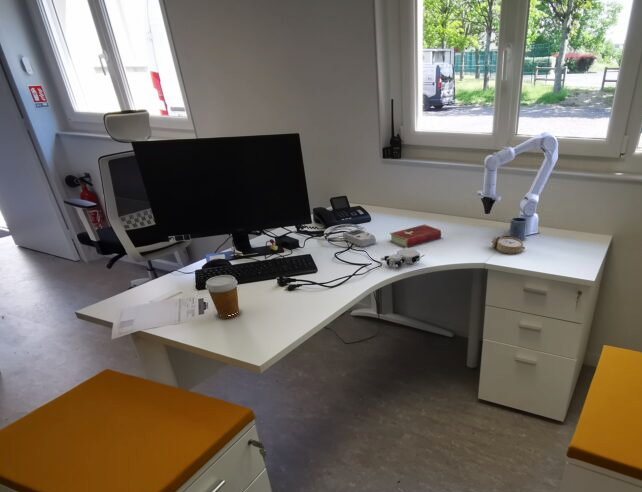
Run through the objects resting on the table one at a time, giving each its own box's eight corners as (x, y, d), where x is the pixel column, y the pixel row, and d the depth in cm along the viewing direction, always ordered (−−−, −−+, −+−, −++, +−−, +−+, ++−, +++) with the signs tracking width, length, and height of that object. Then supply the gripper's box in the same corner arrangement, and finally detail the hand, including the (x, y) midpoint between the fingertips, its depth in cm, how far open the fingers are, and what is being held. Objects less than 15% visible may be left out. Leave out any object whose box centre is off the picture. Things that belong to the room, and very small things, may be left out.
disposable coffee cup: (218, 308, 152) (209, 275, 146) (247, 307, 153) (239, 274, 147) (209, 321, 144) (200, 287, 138) (240, 320, 145) (232, 286, 139)
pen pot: (516, 235, 217) (519, 216, 212) (527, 239, 212) (530, 220, 207) (505, 238, 214) (507, 218, 209) (516, 242, 208) (518, 222, 204)
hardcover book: (441, 238, 213) (441, 229, 211) (406, 248, 202) (406, 239, 200) (424, 232, 221) (424, 223, 219) (390, 241, 210) (390, 232, 207)
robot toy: (396, 274, 179) (426, 263, 186) (395, 263, 176) (425, 252, 183) (379, 265, 187) (408, 254, 194) (378, 254, 185) (407, 244, 191)
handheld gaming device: (361, 248, 202) (361, 239, 200) (343, 240, 212) (342, 231, 210) (377, 244, 207) (377, 235, 205) (358, 236, 217) (358, 228, 215)
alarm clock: (511, 249, 192) (487, 234, 200) (508, 259, 195) (485, 244, 203) (529, 244, 197) (505, 229, 206) (526, 254, 200) (502, 239, 209)
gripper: (472, 181, 211) (471, 211, 218) (493, 187, 201) (491, 218, 208) (484, 180, 214) (482, 209, 221) (505, 185, 204) (502, 216, 211)
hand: (487, 213), depth 215 cm, fingers closed
